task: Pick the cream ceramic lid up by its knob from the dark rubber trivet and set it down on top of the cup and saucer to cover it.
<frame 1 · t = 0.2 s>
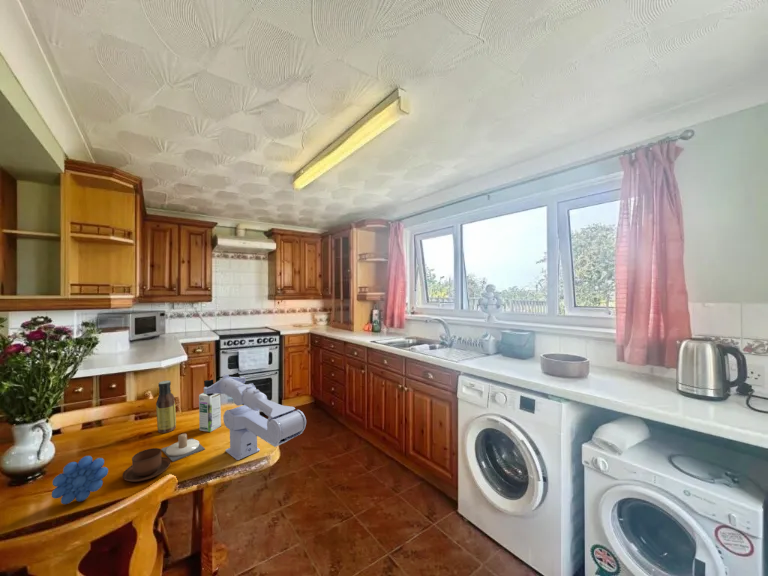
hand: (215, 380, 124), 21 cm above the table, tool horizontal, fingers open, 7 cm apart
trivet: (183, 449, 113), on the table
cup and saucer: (147, 474, 100), on the table
syrup box: (210, 428, 130), on the table
lid: (182, 442, 113), on the trivet
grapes: (82, 499, 88), on the table
sauce bottle: (166, 430, 128), on the table
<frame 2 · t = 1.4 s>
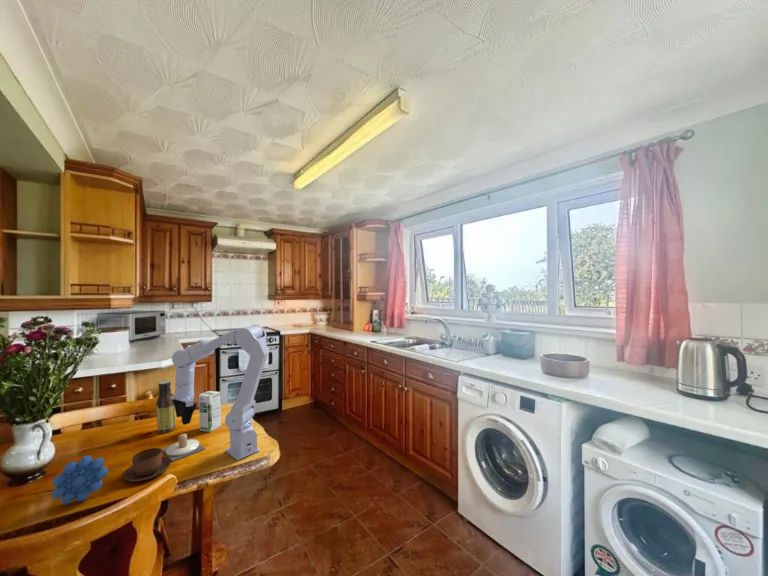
hand: (183, 419, 114), 10 cm above the table, tool pointing down, fingers open, 7 cm apart
nothing on the table moved.
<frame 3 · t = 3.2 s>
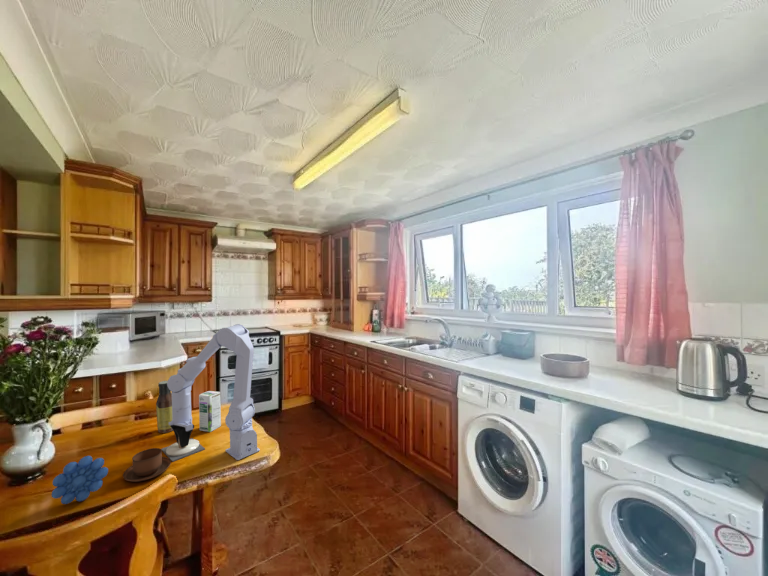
hand: (182, 444, 113), 2 cm above the table, tool pointing down, fingers closed on lid, 3 cm apart
lid: (182, 441, 113), on the trivet, touching gripper
everything else where it was.
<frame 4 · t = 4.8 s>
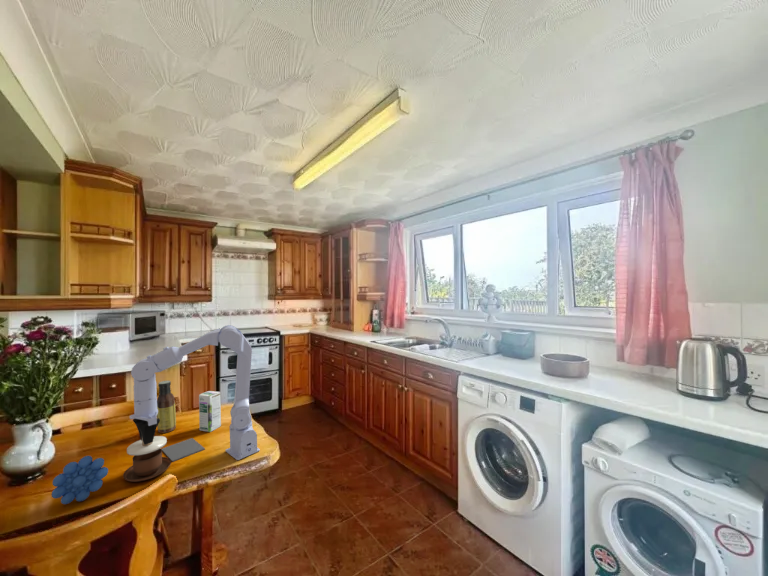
hand: (147, 441, 100), 10 cm above the table, tool pointing down, fingers closed on lid, 3 cm apart
lid: (147, 439, 100), point 11 cm above the table, touching gripper
everything else where it was.
when the fingers open (9 cm above the table, at t = 5.4 s): lid drops 1 cm, resting on cup and saucer.
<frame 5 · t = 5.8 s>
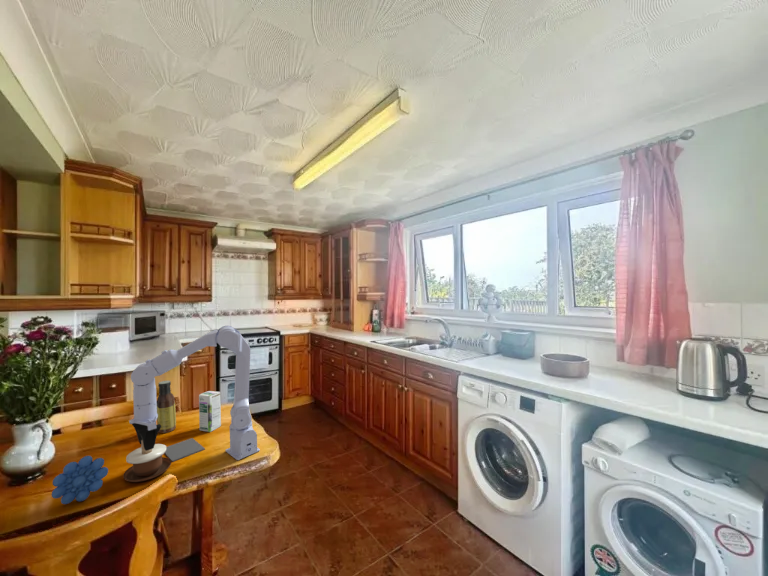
hand: (146, 445, 99), 9 cm above the table, tool pointing down, fingers open, 6 cm apart
cup and saucer: (148, 474, 100), on the table, touching lid
lid: (146, 447, 99), point 8 cm above the table, touching cup and saucer
everything else where it was.
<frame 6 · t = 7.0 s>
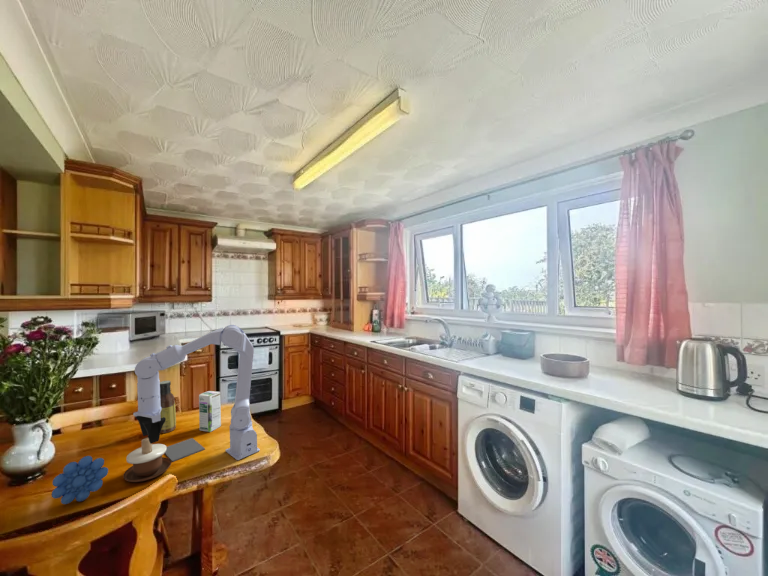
hand: (150, 438, 101), 10 cm above the table, tool pointing down, fingers open, 7 cm apart
nothing on the table moved.
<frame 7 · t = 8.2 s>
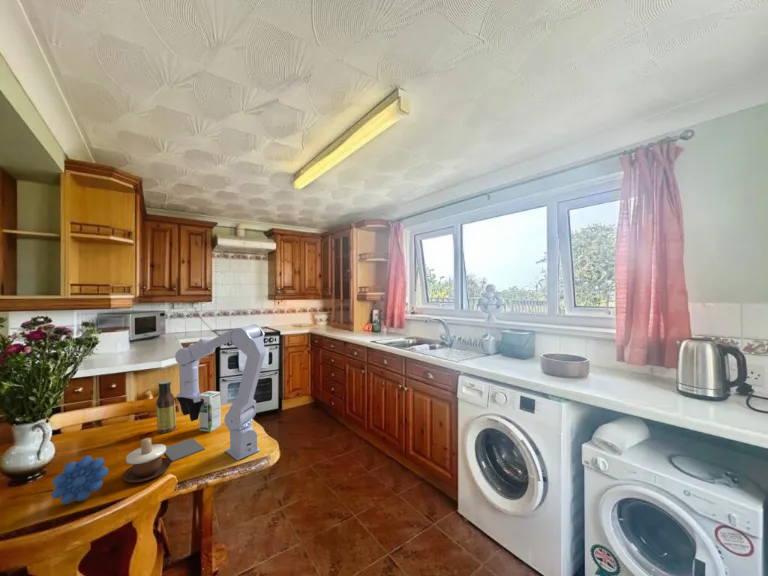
hand: (190, 417, 116), 10 cm above the table, tool pointing down, fingers open, 7 cm apart
nothing on the table moved.
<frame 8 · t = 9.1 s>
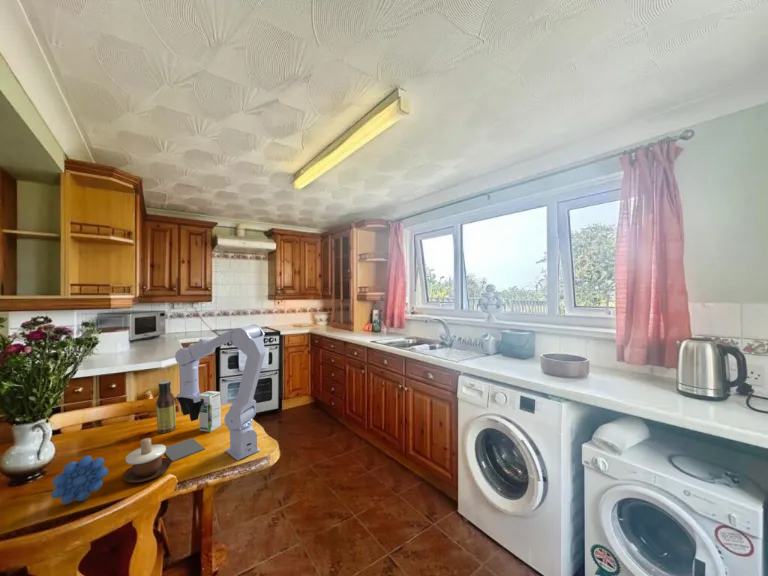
hand: (190, 417, 116), 10 cm above the table, tool pointing down, fingers open, 7 cm apart
nothing on the table moved.
at the end: lid 0.3 cm from the cup and saucer (horizontally); lid point 8.3 cm above the table; the gripper is holding nothing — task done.
